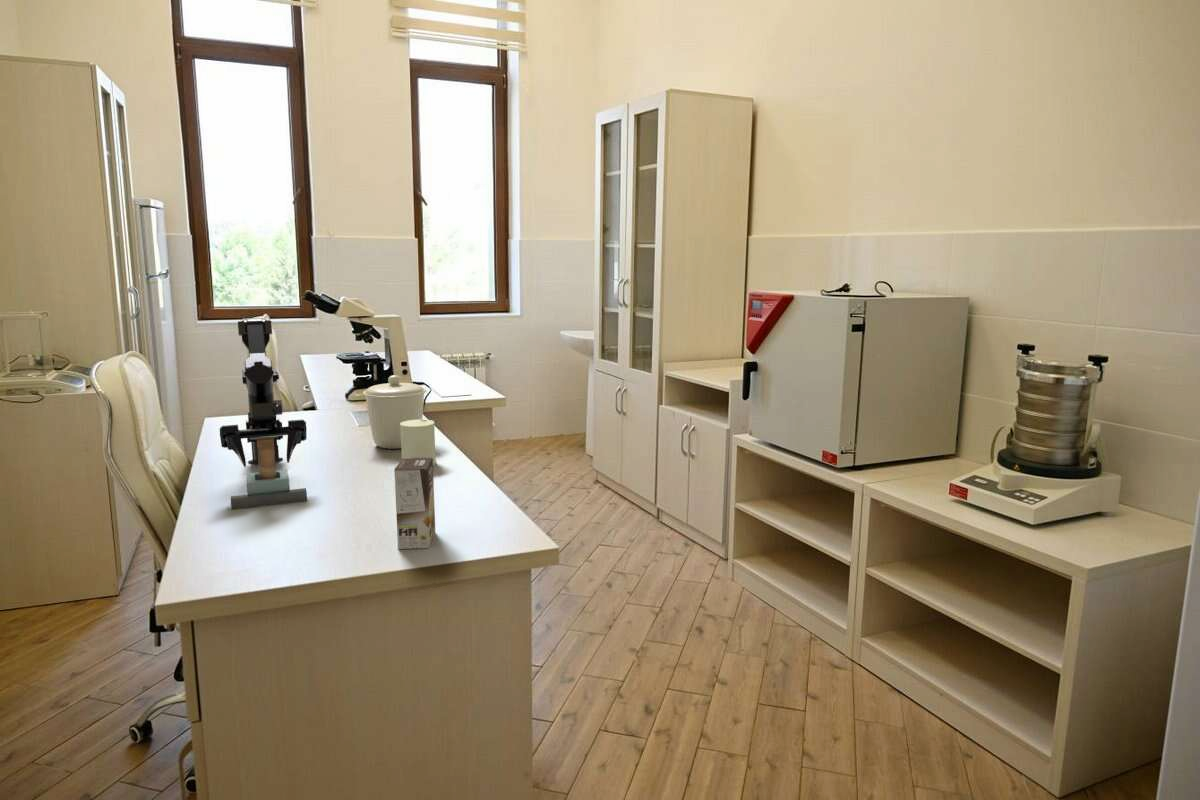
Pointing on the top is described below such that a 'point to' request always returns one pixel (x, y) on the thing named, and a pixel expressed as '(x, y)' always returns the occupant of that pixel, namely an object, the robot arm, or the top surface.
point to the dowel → (266, 458)
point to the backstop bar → (268, 498)
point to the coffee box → (415, 503)
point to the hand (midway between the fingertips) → (266, 463)
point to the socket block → (267, 483)
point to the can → (418, 439)
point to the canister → (393, 409)
